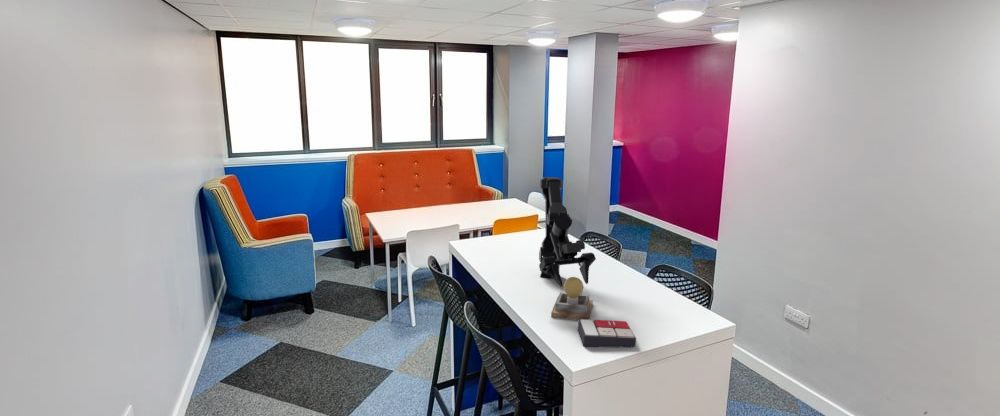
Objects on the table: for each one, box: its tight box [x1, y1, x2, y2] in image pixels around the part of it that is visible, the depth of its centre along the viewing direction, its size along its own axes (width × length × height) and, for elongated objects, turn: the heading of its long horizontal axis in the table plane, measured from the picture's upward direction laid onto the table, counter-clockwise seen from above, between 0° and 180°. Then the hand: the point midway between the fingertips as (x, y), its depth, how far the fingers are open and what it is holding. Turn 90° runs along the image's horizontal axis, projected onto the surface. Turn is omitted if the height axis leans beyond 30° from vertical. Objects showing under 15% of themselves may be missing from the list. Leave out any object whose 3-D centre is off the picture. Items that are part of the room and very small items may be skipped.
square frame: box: [550, 291, 594, 321], centre depth 172 cm, size 12×14×4 cm
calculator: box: [577, 319, 637, 348], centre depth 153 cm, size 11×4×15 cm
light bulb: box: [563, 276, 584, 305], centre depth 171 cm, size 6×6×10 cm
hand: (574, 285), depth 170 cm, fingers open, 9 cm apart
